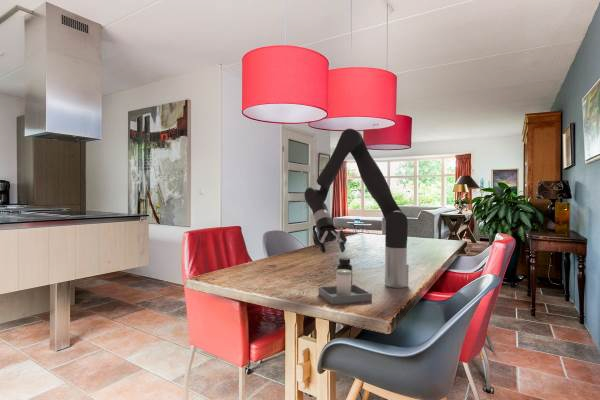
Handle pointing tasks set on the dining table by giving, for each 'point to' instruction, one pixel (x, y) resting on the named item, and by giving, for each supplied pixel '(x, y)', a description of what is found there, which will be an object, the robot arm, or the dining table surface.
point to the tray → (356, 295)
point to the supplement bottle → (345, 265)
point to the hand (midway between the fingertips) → (333, 251)
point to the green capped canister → (343, 282)
